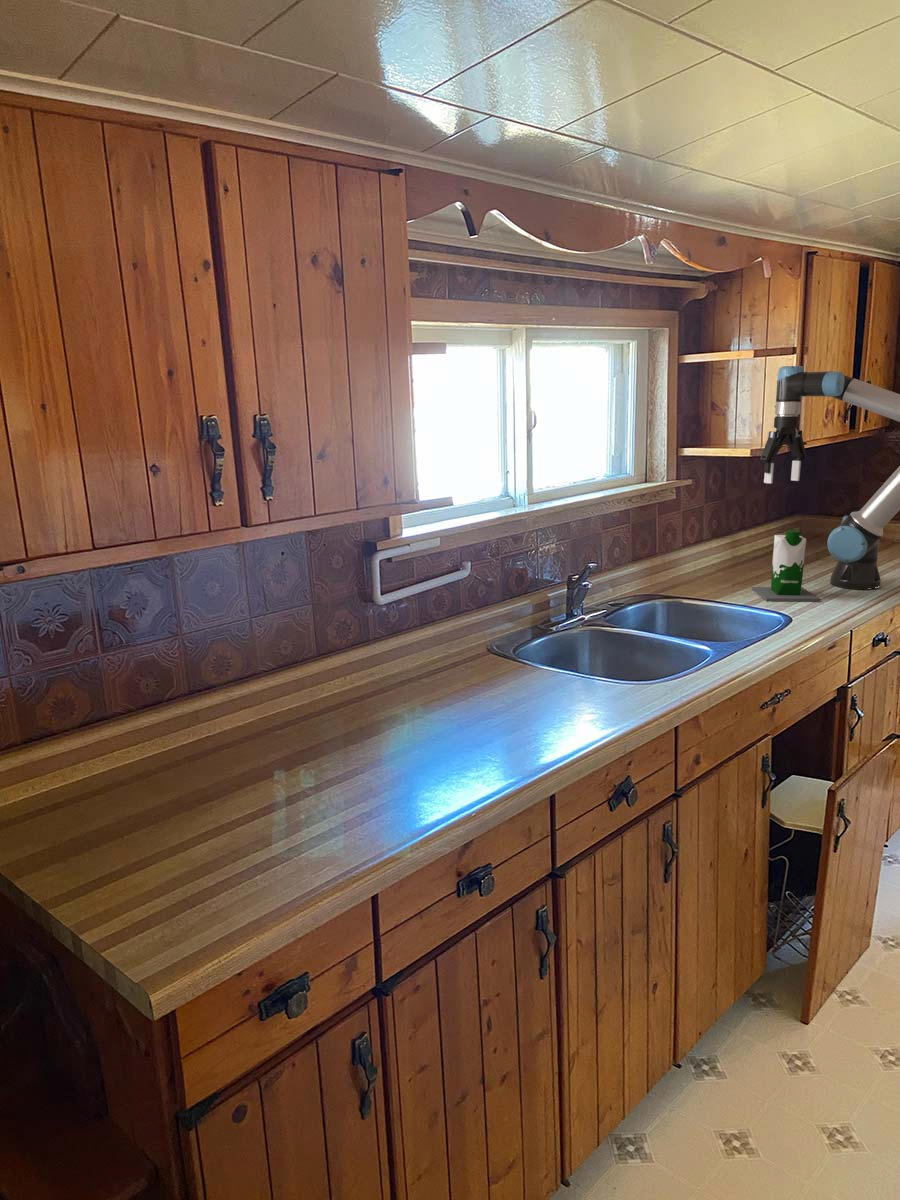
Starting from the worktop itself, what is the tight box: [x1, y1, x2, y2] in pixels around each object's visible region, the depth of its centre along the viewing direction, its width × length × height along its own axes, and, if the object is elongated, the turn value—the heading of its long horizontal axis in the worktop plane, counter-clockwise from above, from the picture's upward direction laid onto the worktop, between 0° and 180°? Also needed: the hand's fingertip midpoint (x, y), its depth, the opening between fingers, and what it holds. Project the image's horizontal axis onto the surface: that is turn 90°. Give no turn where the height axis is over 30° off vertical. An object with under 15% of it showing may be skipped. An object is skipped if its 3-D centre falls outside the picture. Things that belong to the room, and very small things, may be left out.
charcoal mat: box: [751, 586, 821, 603], centre depth 266 cm, size 16×16×1 cm
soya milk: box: [770, 529, 807, 595], centre depth 263 cm, size 9×9×20 cm
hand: (781, 482), depth 274 cm, fingers open, 13 cm apart
